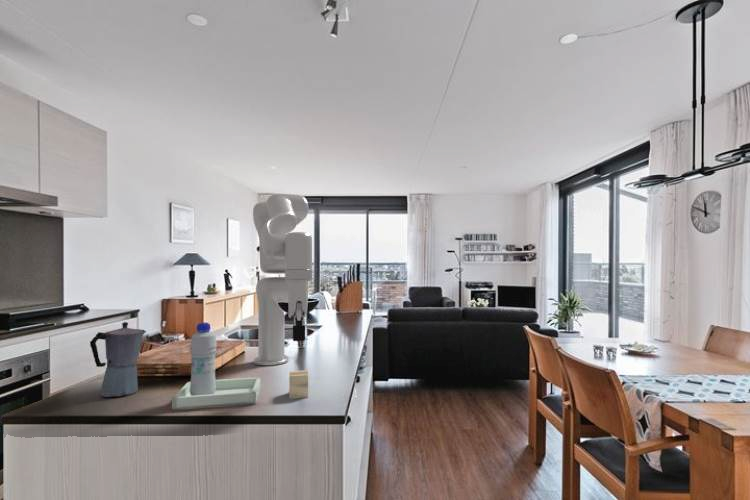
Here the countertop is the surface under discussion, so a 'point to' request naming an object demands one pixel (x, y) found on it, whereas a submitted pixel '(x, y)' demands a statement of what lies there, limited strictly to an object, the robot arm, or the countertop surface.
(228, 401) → the tray
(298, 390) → the block
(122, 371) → the moka pot
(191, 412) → the countertop surface
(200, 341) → the bottle
